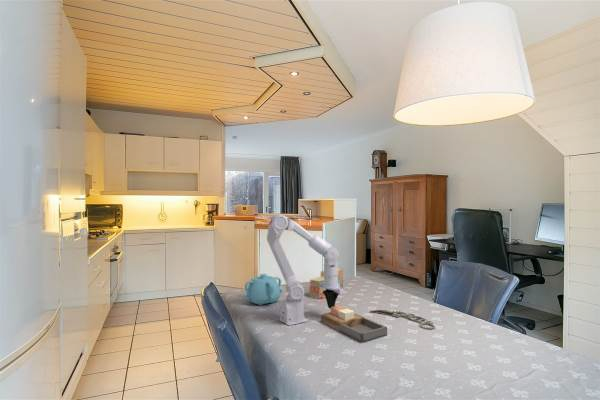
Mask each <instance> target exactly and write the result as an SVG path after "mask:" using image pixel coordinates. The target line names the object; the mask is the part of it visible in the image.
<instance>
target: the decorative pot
mask: <svg viewBox="0 0 600 400" xmlns="http://www.w3.org/2000/svg"><path fill="white" fill-rule="evenodd" d="M277 280H278V281H277ZM281 285H282V280H281V278H280V277H279V276H278V277H277V276H275V277H273V276H271V275H270V276H269V275H268V274H266V273H260V275H259V276H255V277H252V278H251V280H247V282H246V283H245V284H244V288H245V289H244V290H245V291H246V293H245V294H244V296H243V297H244V299H245V300H249V302H250V303H253V304H255V305H256V304H257V306H263V305H264V304H275V303H276V302H277V301H278V300H279V299H280V297H281V294H282V293H283V290H282V288H281Z"/></svg>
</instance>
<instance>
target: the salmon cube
mask: <svg viewBox="0 0 600 400" xmlns="http://www.w3.org/2000/svg"><path fill="white" fill-rule="evenodd" d="M342 309H347V307H345V306H342V305H340V304H338V305H335V306H334V307H331V309H330V312H331V314H333V315H335V316H337V317H338V310H342Z"/></svg>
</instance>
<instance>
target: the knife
mask: <svg viewBox="0 0 600 400" xmlns="http://www.w3.org/2000/svg"><path fill="white" fill-rule="evenodd" d="M369 313H377V314H378V313H379V314H384V315H388V316H391V317H394V318H404V319H408V320H409V321H410V322H414V323H418V324H419V325H418V326H419V327H420V328H422V329H426V330H436V326H435V325H434V323H433V322H432V321H431V320H428V319H426V318H423V317H421V316H418V315H415V314H414V313H408V312H403V311H401V310H400V311H399V310H396V311H391V310H387V309H381V310H379V309H376V310H370V311H369ZM427 326H429V327H427Z"/></svg>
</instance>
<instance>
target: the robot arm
mask: <svg viewBox="0 0 600 400" xmlns="http://www.w3.org/2000/svg"><path fill="white" fill-rule="evenodd" d="M285 230H286V231H289V232H294V233H295V234H297V235H298V236H300V237H301V238H303V239H304V240H306V241H307V242H308V246H309V248H311V249H312V250H314V251H315V252H317V254H319V255H321V256H322V257H323V270H324V282H321V283H319V287H322V288H325V289H326V290H325V291H323V294H324V295H325V298H324V299H325V300H326V303H327V308H328V309H330V310H331V307H334V306H336V302H337V299H338V297H339V296H340V295H344V294H345V289H344V288H343V289H342V288H341V287H340V285H339V284H338V266H339V265H338V259H339V258H340V253H339V250H338V249H337V248H336V247H334V246H333V245H332V243H331V242H327V241H326V240H325V239H324V238H323V236H322V235H320V234H319V235H318V234H311V233H310V232H309V231H307V230H306V229H305V228H304V227H303V226H301V225H300V224H298V223H297V222H296V221H294V220H293V219H291V218H288V217H286V216H285V215H284V214H280V213H278V214H275V215H272V217H271V219H270V221H269V223H268V229H267V235H266V241H267V243H268V245H269V249H270V250H271V253H272V254H273V257H274V259H275V261H276V264H277V265H278V267H279V270H280V273H281V274H282V277H283V279H284V281H285V283H286V287H285V288H286V292H287V293H288V294H287V295H286V297H285V299H284V300H281V302H280V305H279V306H280V307H279V313H280V314H279V316H280V317H279V320H278V321H280V322H282V323H284V324H286V326H293V325H298V324H301V323H306V322H309V319H308V318H306V317H305V288H304V287H303V286H302V284H301V282H300V281H299V280H298V278H297V276H296V275H295V273H294V270H293V268H292V266H291V264H290V262H289V259H288V257H287V255H286V252H285V251H284V248H283V245H282V244H281V242H280V238H281V236H282V233H284V231H285Z"/></svg>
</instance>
